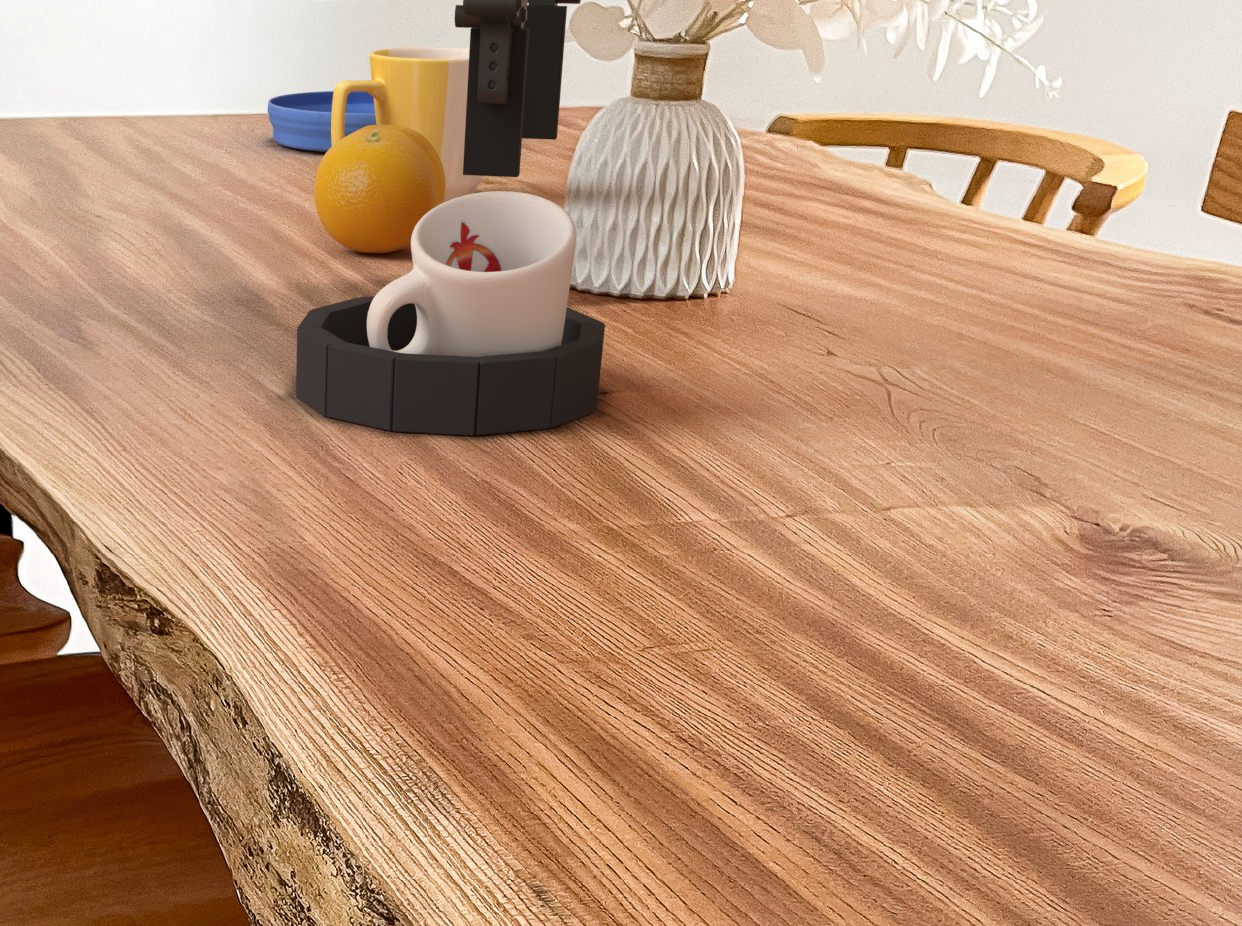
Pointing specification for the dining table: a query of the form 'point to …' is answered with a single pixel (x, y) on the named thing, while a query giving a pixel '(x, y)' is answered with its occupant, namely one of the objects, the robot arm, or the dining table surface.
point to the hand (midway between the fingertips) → (512, 156)
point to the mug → (418, 103)
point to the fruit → (378, 187)
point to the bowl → (316, 118)
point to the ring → (442, 377)
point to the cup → (484, 278)
